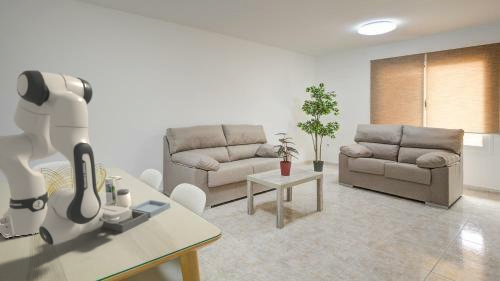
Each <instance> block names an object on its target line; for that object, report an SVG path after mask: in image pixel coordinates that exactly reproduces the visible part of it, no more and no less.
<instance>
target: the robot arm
mask: <svg viewBox="0 0 500 281" xmlns="http://www.w3.org/2000/svg"><path fill="white" fill-rule="evenodd" d="M16 90H17V93H18V95H19V99H18V103H17V106H16V109H15V113H14V115H13V122H14V124H15V126H16V127H17V128H19V129H21V130H22V131H23V132H22V133H20V134H11V135H2V136H1V135H0V172H1V173H2V174H3V175H4V177H5V178H6V180H7V184H8V188H9V193H10V197H9V203H8V204H9V208H8V209H7V210H6V211H5V212H4V213H3V215H2V218H0V232H1V233H2V234H3V235H4V236H5V237H7V236H16V235H28V234H32V235H36V234H39V235H40V238H41V239H42V241H43V242H45V243H46V244H48V245H51V246H56V245H60V244H64V243H67V242H68V241H69V242H70V241H71V240H72V241H73V240H74V239H76V238H78V237H79V236H80V235H83V234H87V233H90V232H92V231H95V230H96V229H99V228H102V227H101V226H102V225H103V222H107V223H111V224H113V223H118V222H121V221H123V220H126V219H128V218H129V217H130V210H132V209H133V207H134V206H133V205H132V204H131V205H128V206H127V207H126V208H123V207H119V206H116V202H112V203H107V202H106V203H104V202H102V200H101V197H100V195H99V193H98V192H99V191H98V188H97V179H96V178H97V177H96V176H97V175H96V164H95V156H94V151H93V148H92V145H91V142H90V132H89V128H90V127H89V124H90V123H89V122H90V120H89V110H88V105H89V103H90V102H91V101H92V98H93V88H92V86H91V84H90V83H89V82H88V81H87V80H85V79H83V78H80V77H74V76H70V75H67V74H64V73H63V74H62V73H55V72H54V73H53V72H47V71H45V72H44V71H39V70H24V71H23V72H21V73H20V74H19V75H18V77H17V82H16ZM57 153H60V154H61V155H63V156H64V157H65V158H66V159H67V160H68V162H69V163H70V166H71V167H72V176H73V179H72V180H73V188H71V187H68V186H67V187H66V186H63V187H58V188H56V189H55V190H54V191H52V192H51V194H50V195H49V194H48V192H47V188H46V179H45V175H44V174H43V173H42V172H40V171H39V170H35V169H32V168H31V167H30V166H29V163H28V162H31V161H36V160H42V159H46V158H49V157H51V156H54V155H56V154H57ZM2 224H4V225H2ZM9 233H10V234H9ZM35 233H36V234H35ZM5 234H9V235H5ZM28 236H29V235H28Z"/></svg>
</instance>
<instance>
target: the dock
mask: <svg viewBox="0 0 500 281" xmlns="http://www.w3.org/2000/svg"><path fill="white" fill-rule="evenodd" d="M149 219H150V217H148V213H145V212H140V211H135V210H132V220H130V221H128V222H126V223H124V224H121V223H113V224H111V223H107V222H103V225H102V226H101V227H100V228H104V229H108V230H113V231H116V232H118V233H119V232H120V233H122V234H123V233H125V232H127V231H129V230H131V229H133V228H135V227H137V226H139V225H141V224H144V223H145V222H147V221H149Z"/></svg>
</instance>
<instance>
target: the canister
mask: <svg viewBox="0 0 500 281" xmlns="http://www.w3.org/2000/svg"><path fill="white" fill-rule="evenodd" d="M128 205H132V197H131V191H130V190H129V189H127V188H125V189H124V188H123V189H122V190H118V191H117V194H116V206H119V207H123V208H126V207H127V206H128ZM132 219H133V217H132V210H130V217H129V218H128V219H126V220H123V221H121V222H118V223H121V224H124V223H126V222H128V221H130V220H132Z"/></svg>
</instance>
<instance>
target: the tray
mask: <svg viewBox="0 0 500 281" xmlns="http://www.w3.org/2000/svg"><path fill="white" fill-rule="evenodd" d="M170 208H171V203H170V202H166V201H161V200H156V199H155V200H154V199H149V200H146V201H145V202H142V203H140V204H137V205H135V206H133V209H132V210H135V211H140V212H145V213H148V218H152V217H155V216H156V215H158V214H160V212H161V213H162V212H165V211H167V210H169V209H170Z"/></svg>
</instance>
